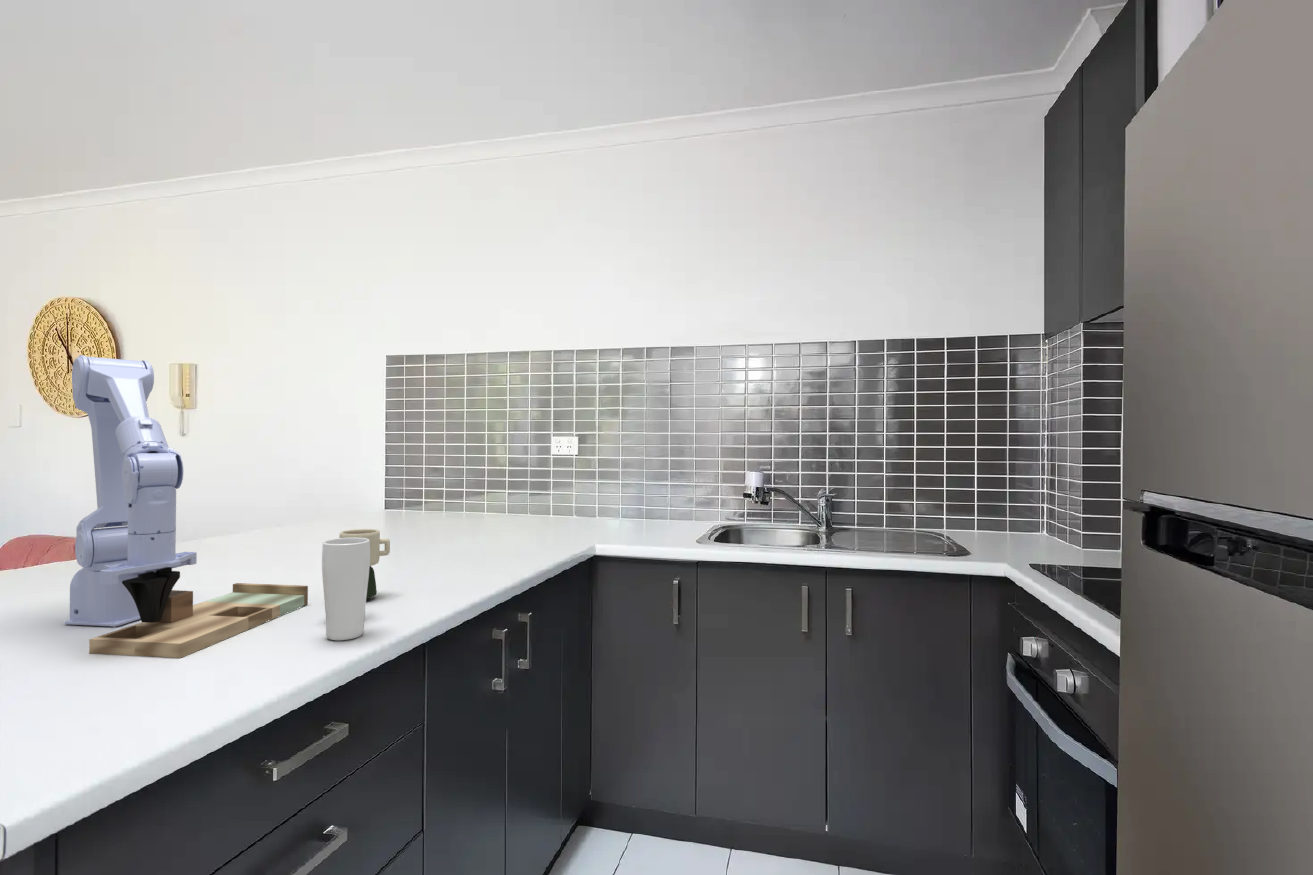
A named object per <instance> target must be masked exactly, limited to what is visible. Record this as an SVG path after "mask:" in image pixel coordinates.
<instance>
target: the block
mask: <svg viewBox="0 0 1313 875" xmlns="http://www.w3.org/2000/svg"><path fill="white" fill-rule="evenodd" d="M193 605H194V591H193V590H177V589H172V590H171V592H170V595H169V597H168V599H167V602H166V605H165V608H164V611H163V615H162V618H161V620H160V621H157V623H173V622H176V621H179V620H182V619H185V618H188V617H191V616H193Z"/></svg>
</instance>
